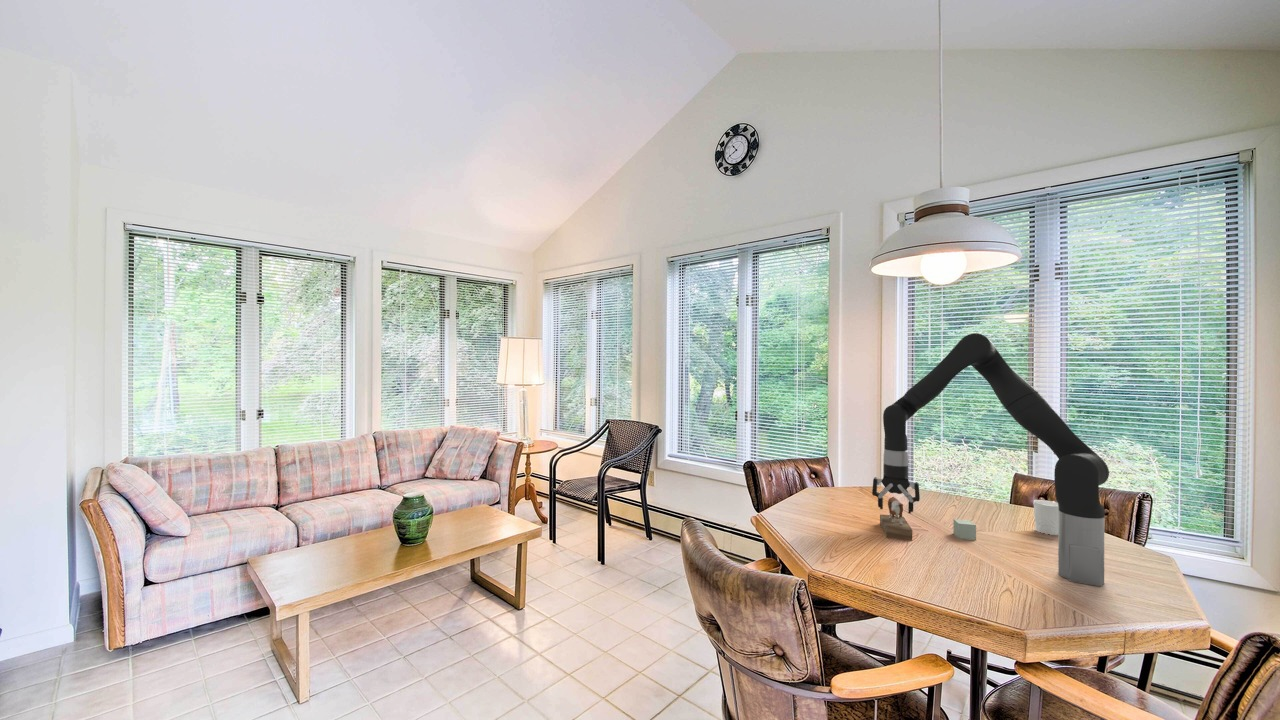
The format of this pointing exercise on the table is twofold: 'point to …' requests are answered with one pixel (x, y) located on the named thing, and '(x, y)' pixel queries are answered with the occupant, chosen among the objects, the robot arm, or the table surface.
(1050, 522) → the light grey block
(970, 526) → the sage cube
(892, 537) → the pedestal
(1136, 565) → the table surface
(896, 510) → the bull figurine
